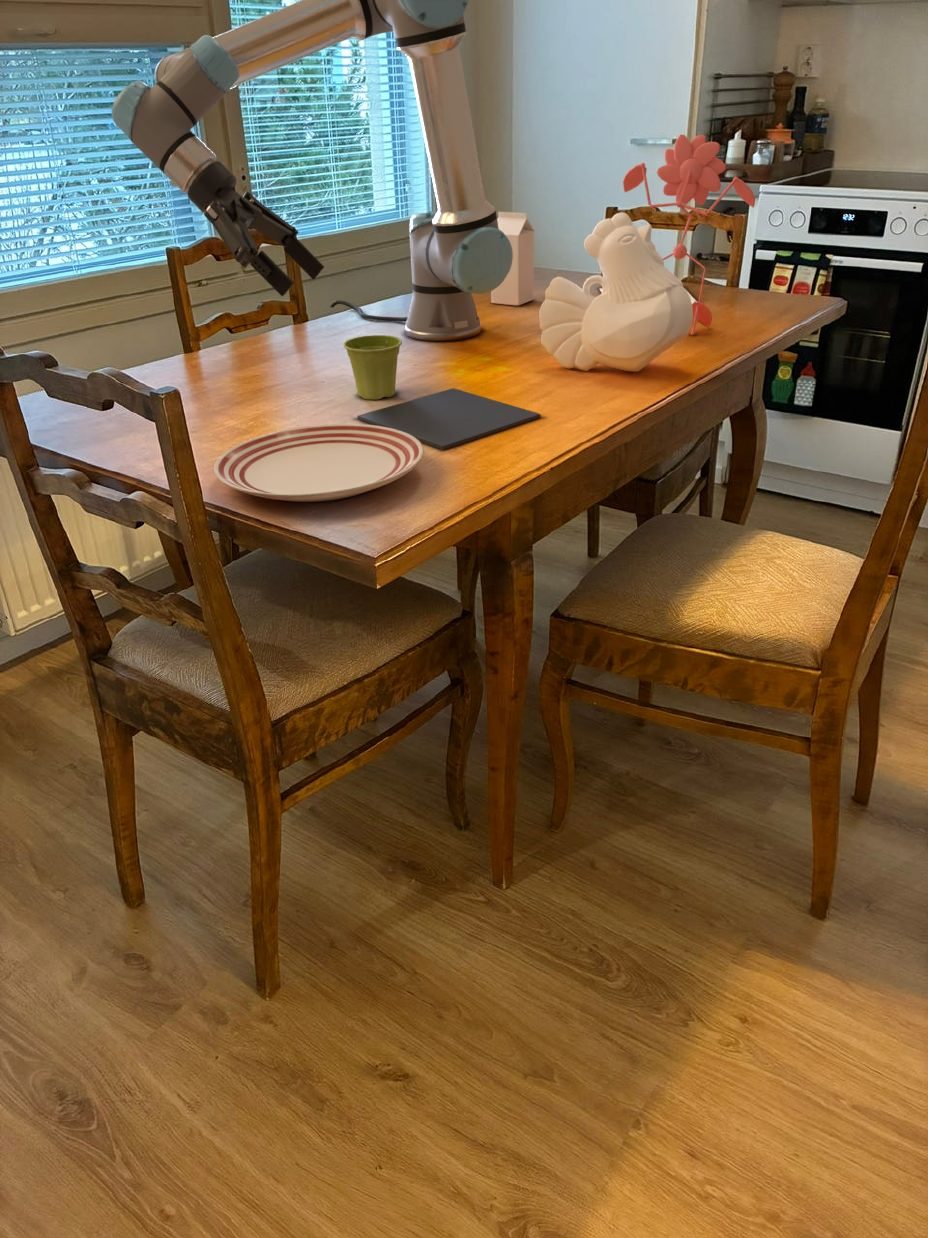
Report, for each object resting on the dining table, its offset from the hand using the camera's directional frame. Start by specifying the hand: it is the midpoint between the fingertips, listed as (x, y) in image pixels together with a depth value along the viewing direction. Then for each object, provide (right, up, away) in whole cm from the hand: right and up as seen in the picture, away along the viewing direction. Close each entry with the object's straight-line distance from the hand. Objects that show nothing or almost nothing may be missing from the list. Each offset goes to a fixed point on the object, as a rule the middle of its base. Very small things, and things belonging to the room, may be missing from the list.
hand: (304, 281), depth 152 cm
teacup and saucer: (+68, +21, +69) cm, 99 cm away
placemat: (+23, -23, -5) cm, 33 cm away
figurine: (+69, +6, +43) cm, 82 cm away
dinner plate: (+6, -35, -25) cm, 43 cm away
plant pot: (+11, -17, +7) cm, 21 cm away
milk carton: (+36, +19, +67) cm, 79 cm away
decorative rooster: (+52, -9, +18) cm, 56 cm away
